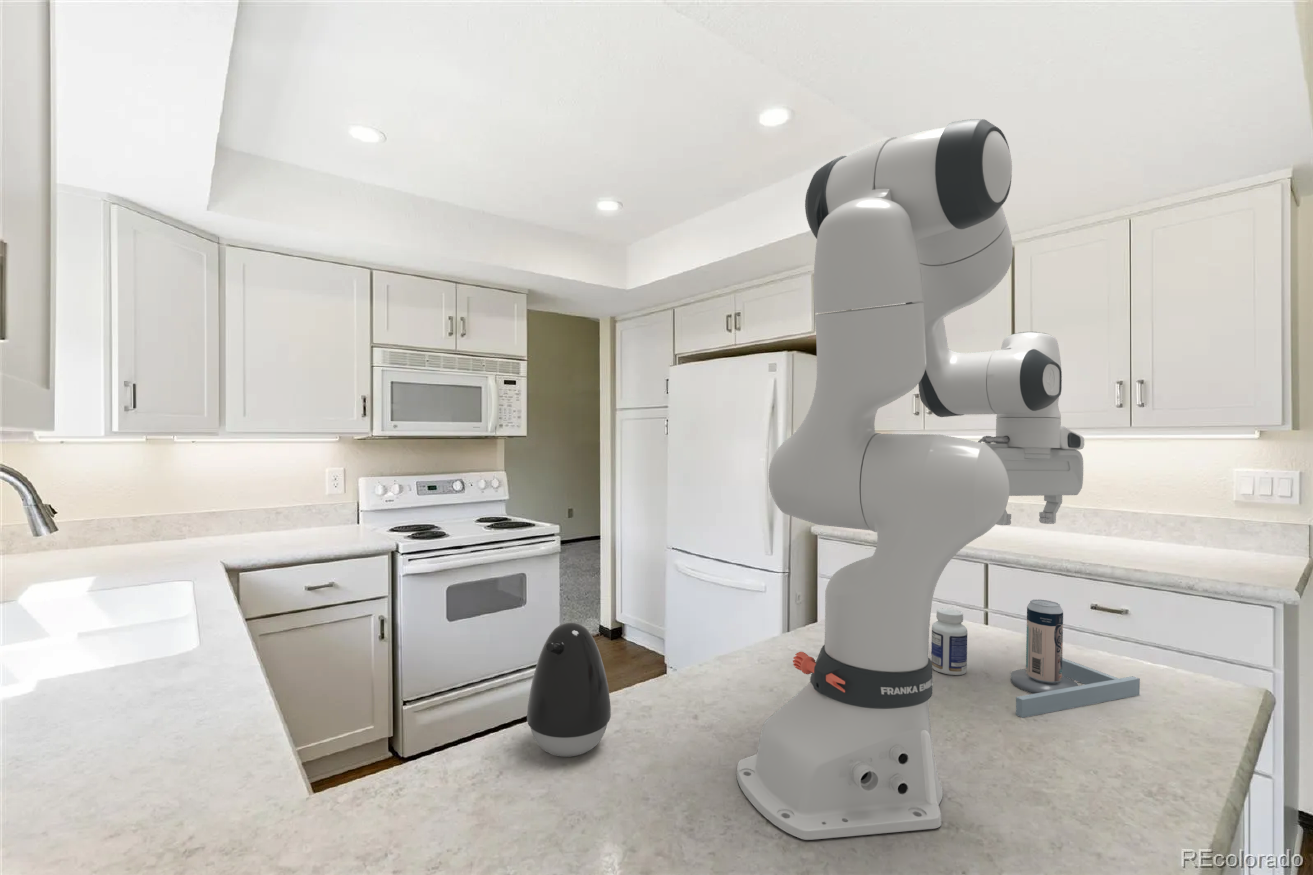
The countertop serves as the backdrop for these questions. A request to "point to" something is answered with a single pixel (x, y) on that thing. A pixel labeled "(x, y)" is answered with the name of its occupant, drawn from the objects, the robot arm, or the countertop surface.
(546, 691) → the black egg-shaped tumbler
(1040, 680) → the beer can
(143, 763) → the countertop surface
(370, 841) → the countertop surface
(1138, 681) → the divider wall
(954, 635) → the pill bottle
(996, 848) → the countertop surface
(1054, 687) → the coaster
